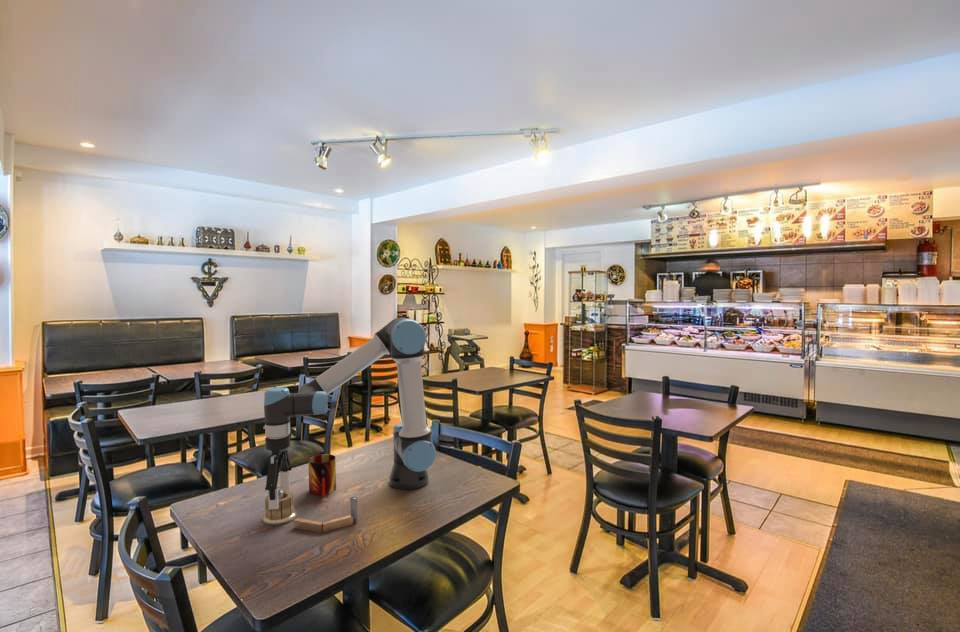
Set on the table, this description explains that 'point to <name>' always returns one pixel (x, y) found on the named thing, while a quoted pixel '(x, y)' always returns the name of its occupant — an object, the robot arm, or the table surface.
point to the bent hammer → (329, 524)
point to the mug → (322, 474)
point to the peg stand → (282, 521)
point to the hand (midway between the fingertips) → (279, 499)
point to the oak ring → (280, 507)
